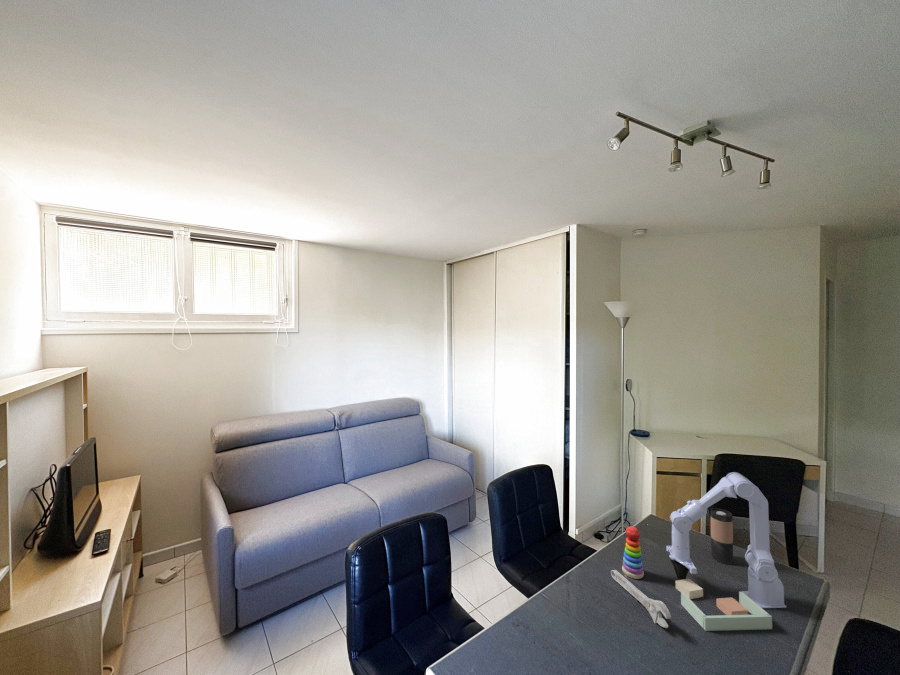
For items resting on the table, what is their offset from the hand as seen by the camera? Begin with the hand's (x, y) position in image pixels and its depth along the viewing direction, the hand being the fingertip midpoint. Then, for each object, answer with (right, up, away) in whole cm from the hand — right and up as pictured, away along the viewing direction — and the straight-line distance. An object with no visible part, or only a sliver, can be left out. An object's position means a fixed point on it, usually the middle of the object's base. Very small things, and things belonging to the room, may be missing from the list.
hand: (681, 580), depth 135 cm
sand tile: (0, -2, -4) cm, 5 cm away
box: (+4, -1, -16) cm, 16 cm away
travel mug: (+28, -2, +15) cm, 32 cm away
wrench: (-22, -2, -9) cm, 24 cm away
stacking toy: (-15, -2, +7) cm, 17 cm away
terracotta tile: (+8, -2, -14) cm, 16 cm away
